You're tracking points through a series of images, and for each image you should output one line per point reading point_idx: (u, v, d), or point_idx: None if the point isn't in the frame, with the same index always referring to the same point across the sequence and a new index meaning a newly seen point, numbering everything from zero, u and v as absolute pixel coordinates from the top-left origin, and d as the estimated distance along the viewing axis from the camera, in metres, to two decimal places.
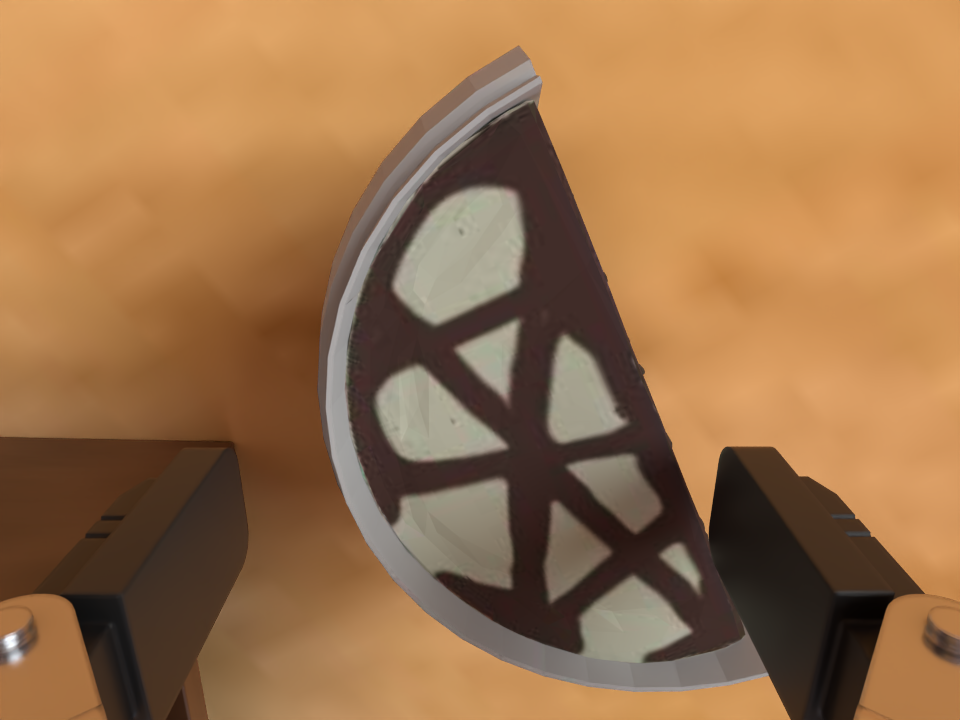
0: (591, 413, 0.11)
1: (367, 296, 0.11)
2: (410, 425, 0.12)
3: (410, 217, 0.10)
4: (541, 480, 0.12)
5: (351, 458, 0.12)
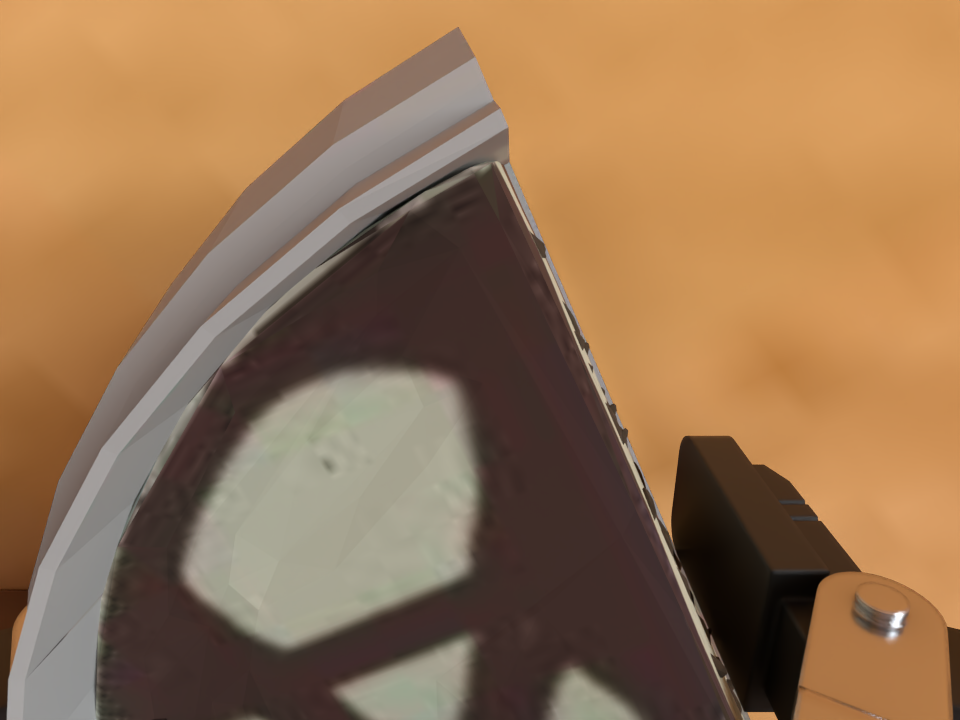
0: None
1: (123, 601, 0.05)
2: None
3: (202, 439, 0.04)
4: None
5: None
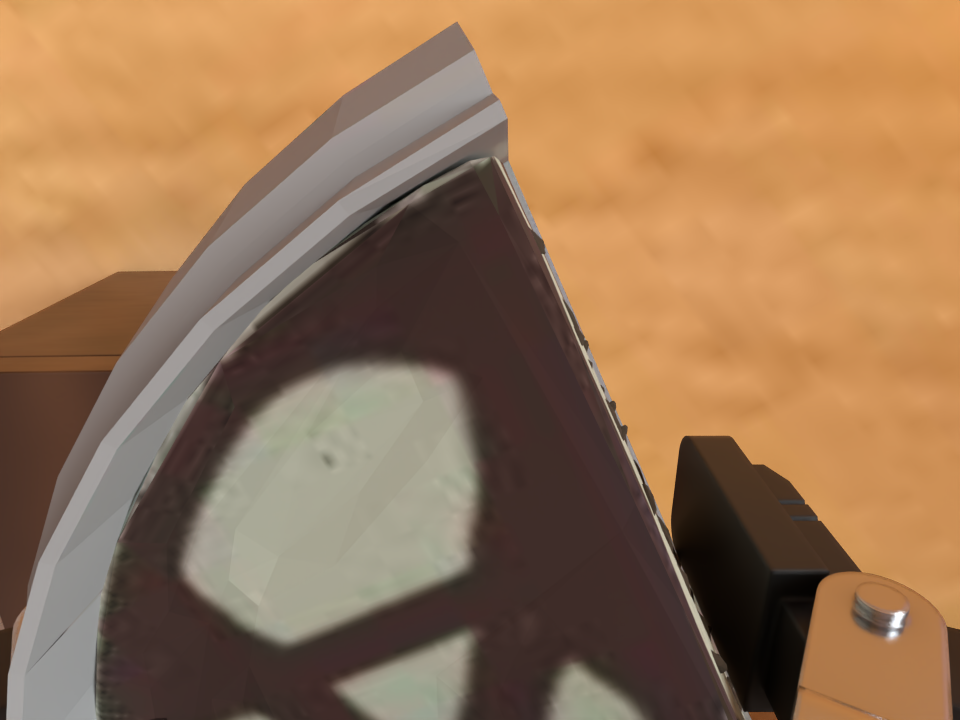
0: None
1: (122, 597, 0.05)
2: None
3: (201, 434, 0.04)
4: None
5: None
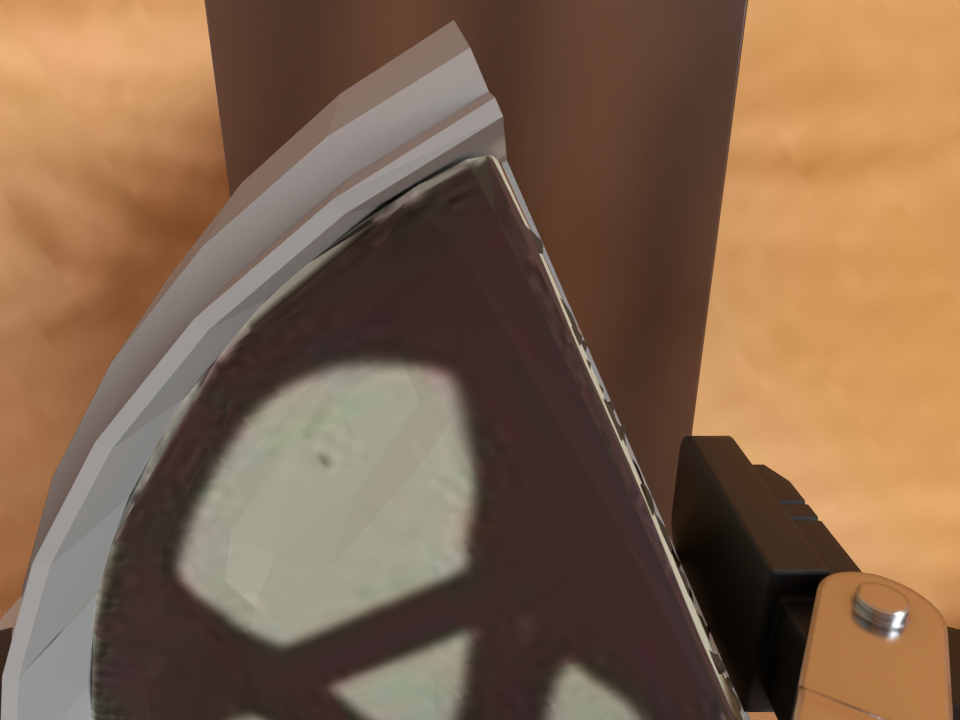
0: None
1: (118, 597, 0.05)
2: None
3: (197, 434, 0.04)
4: None
5: None
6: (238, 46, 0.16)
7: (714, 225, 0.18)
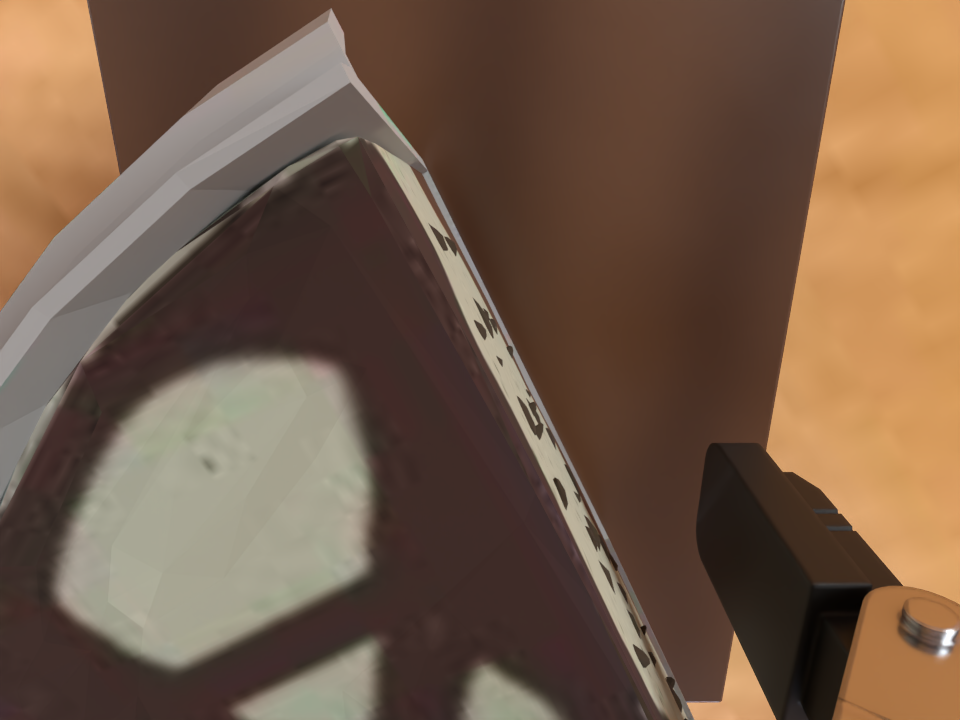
0: None
1: None
2: None
3: (66, 443, 0.04)
4: None
5: None
6: (131, 31, 0.12)
7: (791, 275, 0.13)
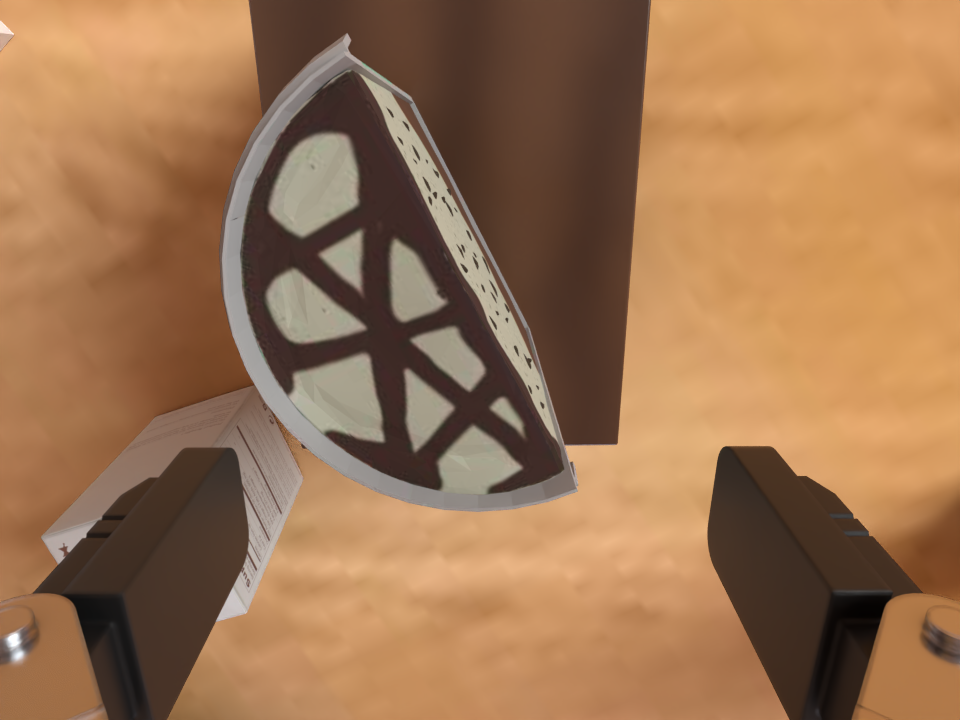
0: (420, 297, 0.16)
1: (250, 218, 0.15)
2: (293, 316, 0.16)
3: (275, 158, 0.15)
4: (395, 353, 0.16)
5: (250, 341, 0.16)
6: (272, 23, 0.22)
7: (635, 158, 0.24)
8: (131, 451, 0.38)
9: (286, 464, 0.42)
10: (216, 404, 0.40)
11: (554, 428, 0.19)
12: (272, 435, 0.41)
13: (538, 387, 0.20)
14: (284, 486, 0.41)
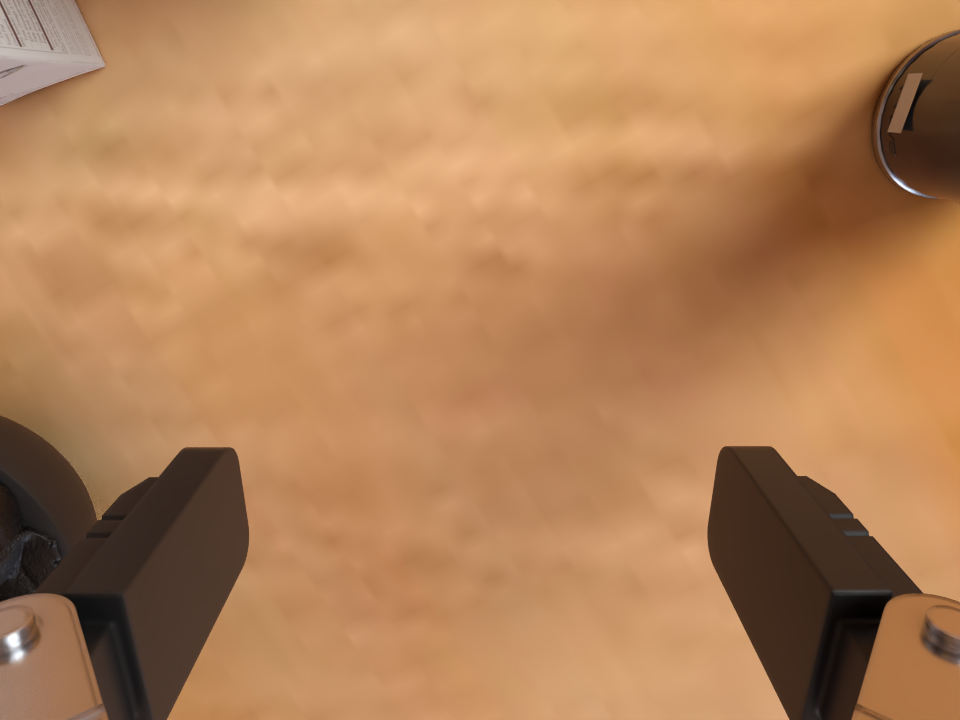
0: None
1: None
2: None
3: None
4: None
5: None
6: None
7: None
8: None
9: (75, 26, 0.37)
10: None
11: None
12: None
13: None
14: (64, 36, 0.36)
